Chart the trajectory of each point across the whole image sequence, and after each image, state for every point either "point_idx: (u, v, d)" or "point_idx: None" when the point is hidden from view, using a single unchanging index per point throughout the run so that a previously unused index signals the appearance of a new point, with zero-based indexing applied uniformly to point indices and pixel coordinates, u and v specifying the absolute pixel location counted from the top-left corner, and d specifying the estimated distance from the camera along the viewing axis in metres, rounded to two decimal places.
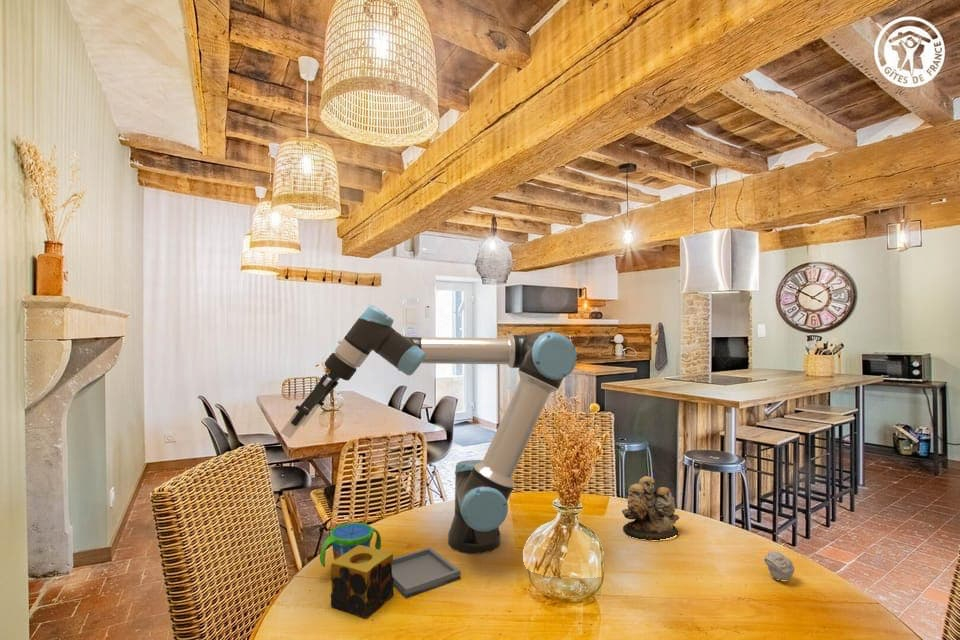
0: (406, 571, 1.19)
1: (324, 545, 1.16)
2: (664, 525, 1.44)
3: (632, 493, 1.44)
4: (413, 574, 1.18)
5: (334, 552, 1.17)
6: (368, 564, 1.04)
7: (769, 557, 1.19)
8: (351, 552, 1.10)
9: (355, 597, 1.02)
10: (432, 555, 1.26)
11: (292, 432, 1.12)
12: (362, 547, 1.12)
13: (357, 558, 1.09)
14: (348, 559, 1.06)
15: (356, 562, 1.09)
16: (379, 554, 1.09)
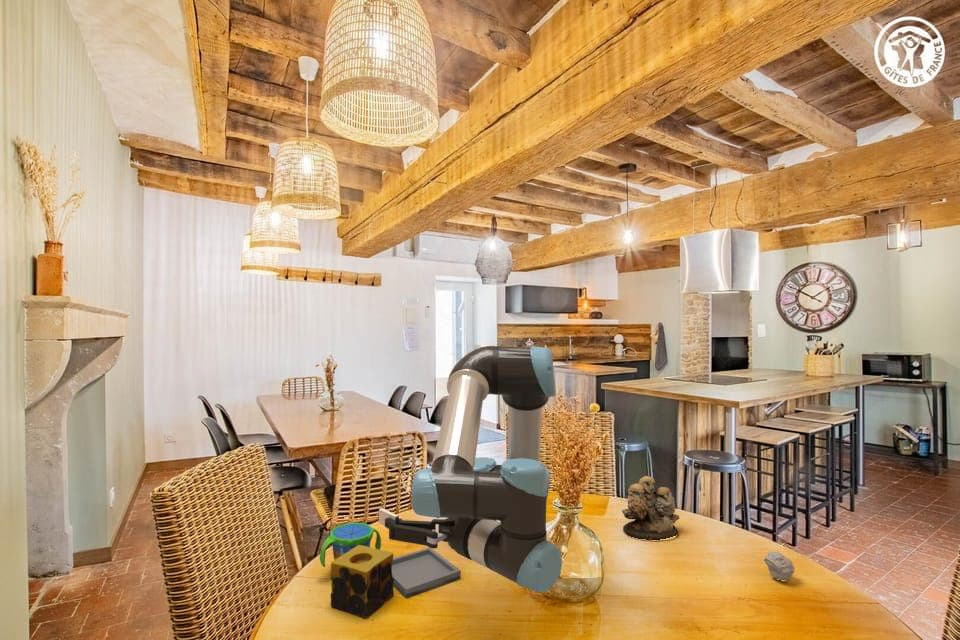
0: (406, 571, 1.19)
1: (324, 545, 1.16)
2: (664, 525, 1.44)
3: (632, 493, 1.44)
4: (413, 574, 1.18)
5: (334, 552, 1.17)
6: (368, 564, 1.04)
7: (769, 557, 1.19)
8: (351, 552, 1.10)
9: (355, 597, 1.02)
10: (432, 555, 1.26)
11: None
12: (362, 547, 1.12)
13: (357, 558, 1.09)
14: (348, 559, 1.06)
15: (356, 562, 1.09)
16: (379, 554, 1.09)
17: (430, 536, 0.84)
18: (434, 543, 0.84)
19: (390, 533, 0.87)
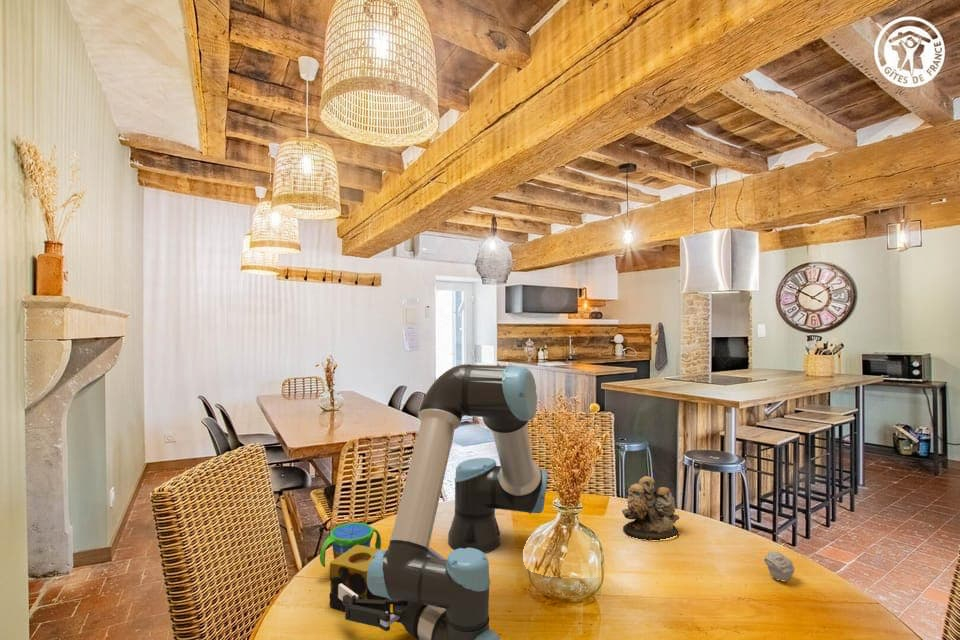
0: None
1: (324, 545, 1.16)
2: (664, 525, 1.44)
3: (632, 493, 1.44)
4: None
5: (334, 552, 1.17)
6: (367, 563, 1.04)
7: (769, 557, 1.19)
8: (349, 552, 1.10)
9: None
10: (432, 555, 1.26)
11: None
12: (360, 547, 1.12)
13: (356, 558, 1.09)
14: (347, 559, 1.06)
15: (355, 562, 1.09)
16: None
17: (383, 619, 0.89)
18: (386, 626, 0.89)
19: (346, 614, 0.92)
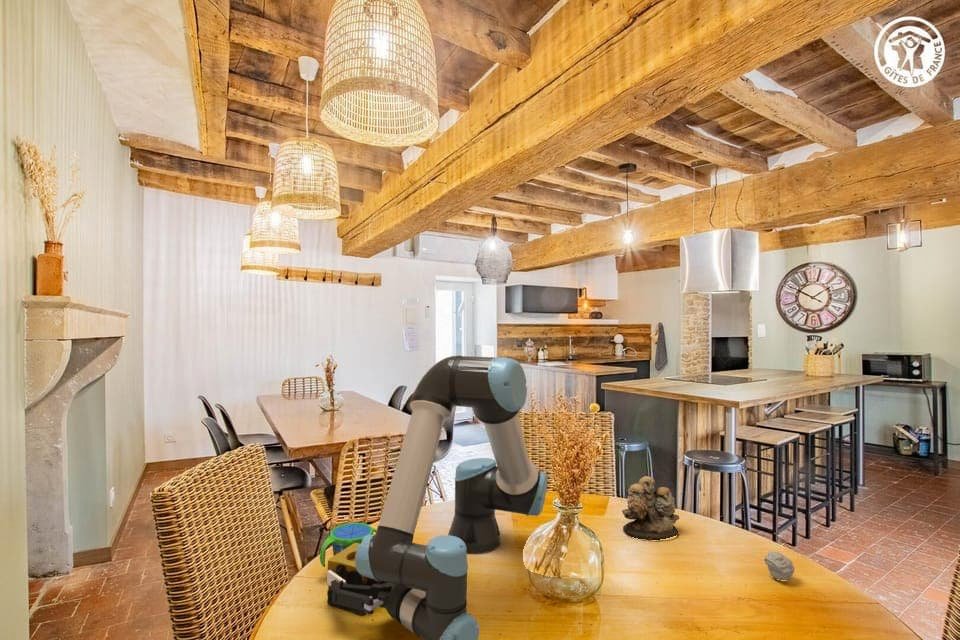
0: None
1: (324, 545, 1.16)
2: (664, 525, 1.44)
3: (632, 493, 1.44)
4: None
5: (334, 552, 1.17)
6: None
7: (769, 557, 1.19)
8: (347, 550, 1.10)
9: None
10: None
11: None
12: (358, 545, 1.13)
13: (354, 556, 1.10)
14: (345, 556, 1.07)
15: (352, 559, 1.09)
16: None
17: (366, 603, 0.94)
18: (369, 610, 0.94)
19: (333, 597, 0.97)
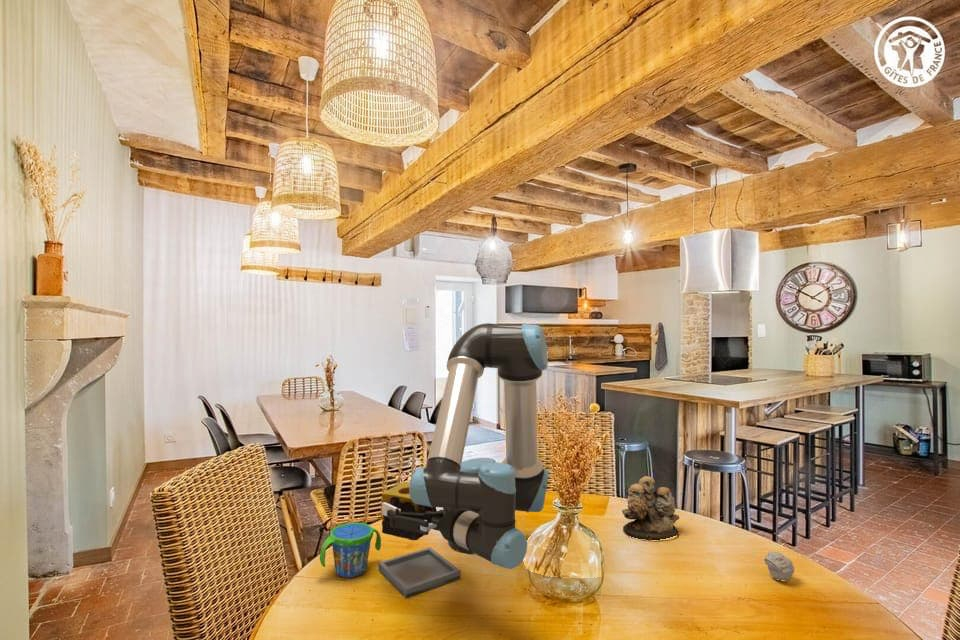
0: (406, 571, 1.19)
1: (324, 545, 1.16)
2: (664, 525, 1.44)
3: (632, 493, 1.44)
4: (413, 574, 1.18)
5: (334, 552, 1.17)
6: None
7: (769, 557, 1.19)
8: (398, 486, 1.21)
9: None
10: (432, 555, 1.26)
11: None
12: (407, 483, 1.23)
13: (404, 492, 1.20)
14: (397, 491, 1.18)
15: None
16: None
17: (422, 525, 1.04)
18: (425, 531, 1.04)
19: (391, 522, 1.08)
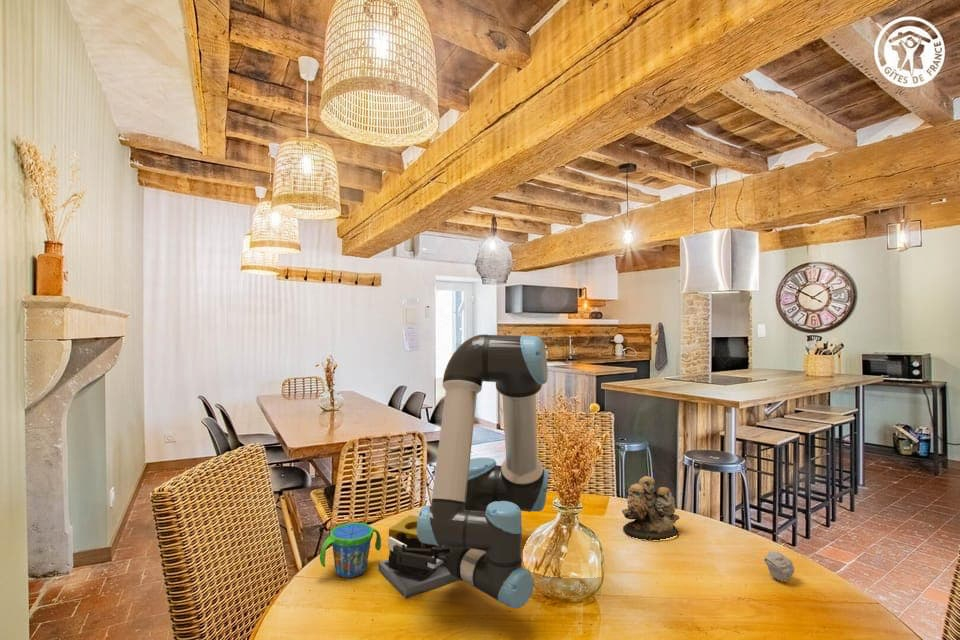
0: None
1: (324, 545, 1.16)
2: (664, 525, 1.44)
3: (632, 493, 1.44)
4: None
5: (334, 552, 1.17)
6: None
7: (769, 557, 1.19)
8: (404, 521, 1.23)
9: None
10: None
11: None
12: (413, 517, 1.25)
13: (410, 526, 1.22)
14: (403, 526, 1.19)
15: (409, 529, 1.22)
16: None
17: (430, 562, 1.06)
18: (433, 568, 1.05)
19: (398, 559, 1.09)
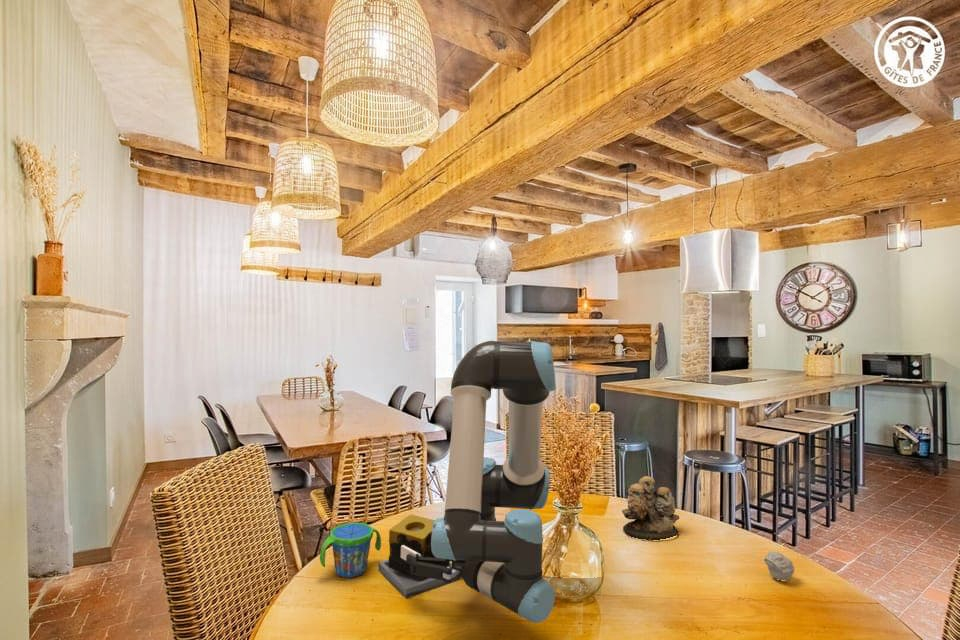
0: None
1: (324, 545, 1.16)
2: (664, 525, 1.44)
3: (632, 493, 1.44)
4: None
5: (334, 552, 1.17)
6: (423, 532, 1.17)
7: (769, 557, 1.19)
8: (405, 521, 1.22)
9: None
10: None
11: None
12: (414, 516, 1.24)
13: (411, 526, 1.22)
14: (404, 527, 1.19)
15: (410, 530, 1.21)
16: (431, 523, 1.21)
17: (445, 572, 1.01)
18: (449, 579, 1.01)
19: (412, 569, 1.04)
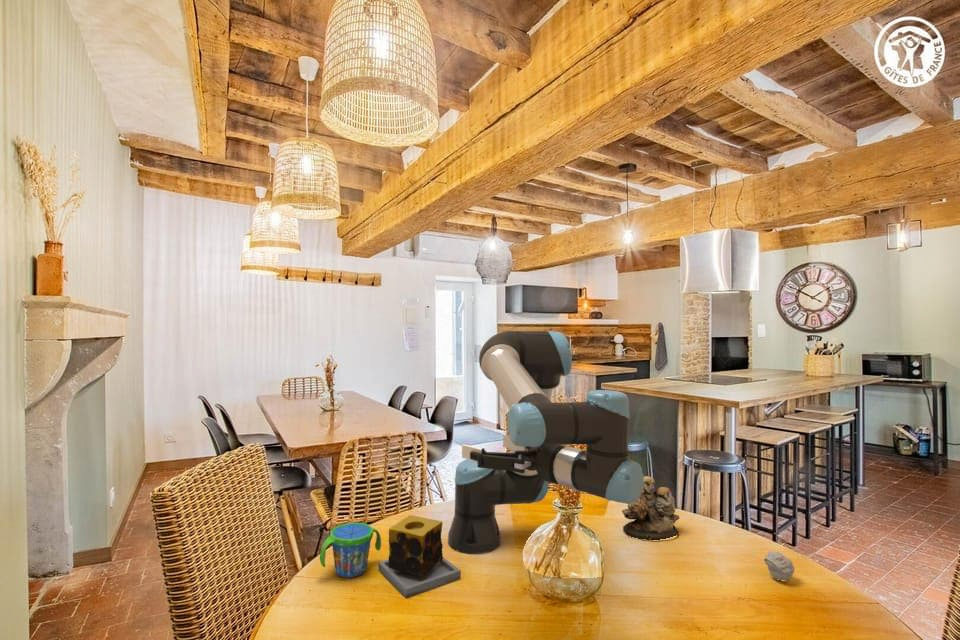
0: None
1: (324, 545, 1.16)
2: (664, 525, 1.44)
3: None
4: None
5: (334, 552, 1.17)
6: (422, 530, 1.17)
7: (769, 557, 1.19)
8: (404, 521, 1.23)
9: (411, 559, 1.15)
10: None
11: None
12: (413, 517, 1.25)
13: (410, 526, 1.22)
14: (403, 526, 1.19)
15: (409, 529, 1.22)
16: (430, 522, 1.22)
17: (518, 462, 0.93)
18: (522, 469, 0.93)
19: (479, 462, 0.96)
